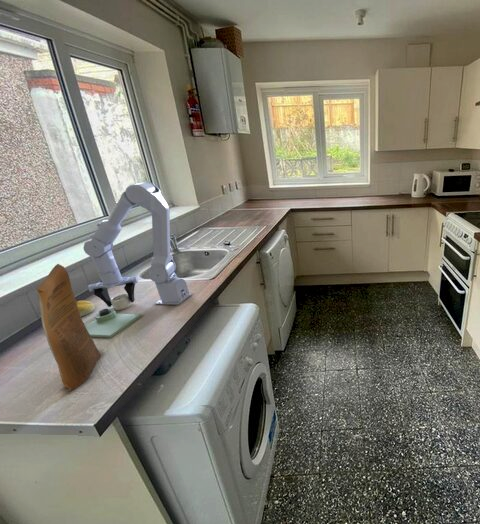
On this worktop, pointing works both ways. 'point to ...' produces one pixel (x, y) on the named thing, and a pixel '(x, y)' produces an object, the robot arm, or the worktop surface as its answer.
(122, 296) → the cup
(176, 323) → the worktop surface
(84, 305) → the bread roll
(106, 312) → the scale button
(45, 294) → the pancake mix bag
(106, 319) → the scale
